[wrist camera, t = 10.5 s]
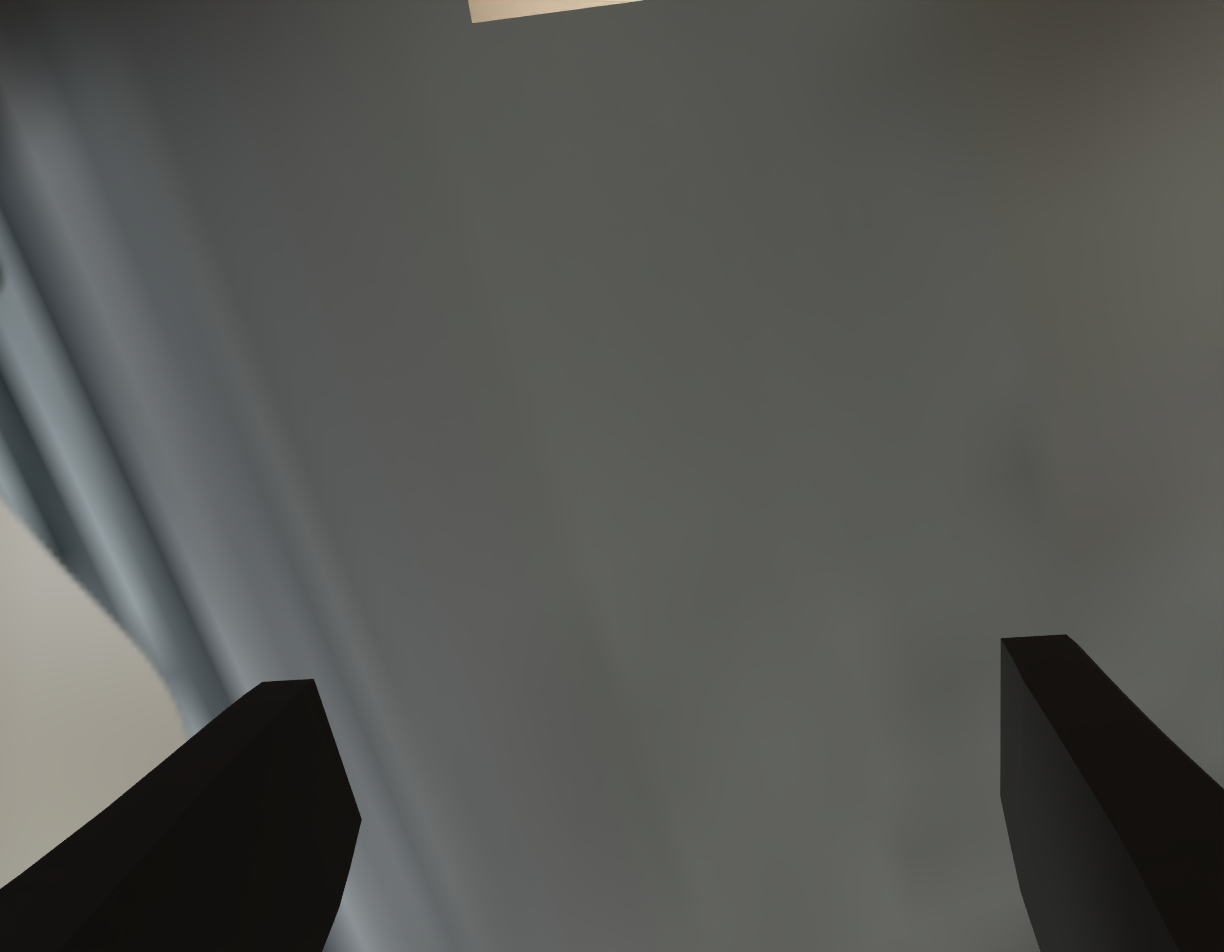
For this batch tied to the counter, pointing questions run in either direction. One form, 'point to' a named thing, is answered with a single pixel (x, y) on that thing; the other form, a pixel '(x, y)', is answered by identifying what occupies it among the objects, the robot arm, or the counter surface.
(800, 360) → the counter surface
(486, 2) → the oak block
